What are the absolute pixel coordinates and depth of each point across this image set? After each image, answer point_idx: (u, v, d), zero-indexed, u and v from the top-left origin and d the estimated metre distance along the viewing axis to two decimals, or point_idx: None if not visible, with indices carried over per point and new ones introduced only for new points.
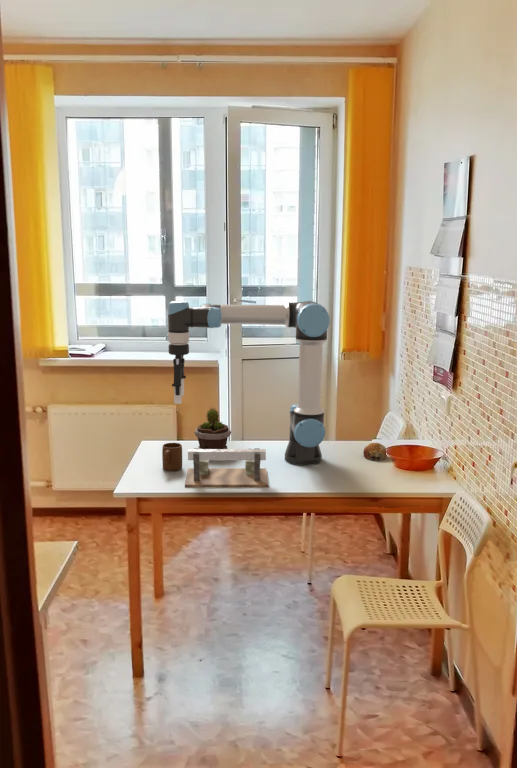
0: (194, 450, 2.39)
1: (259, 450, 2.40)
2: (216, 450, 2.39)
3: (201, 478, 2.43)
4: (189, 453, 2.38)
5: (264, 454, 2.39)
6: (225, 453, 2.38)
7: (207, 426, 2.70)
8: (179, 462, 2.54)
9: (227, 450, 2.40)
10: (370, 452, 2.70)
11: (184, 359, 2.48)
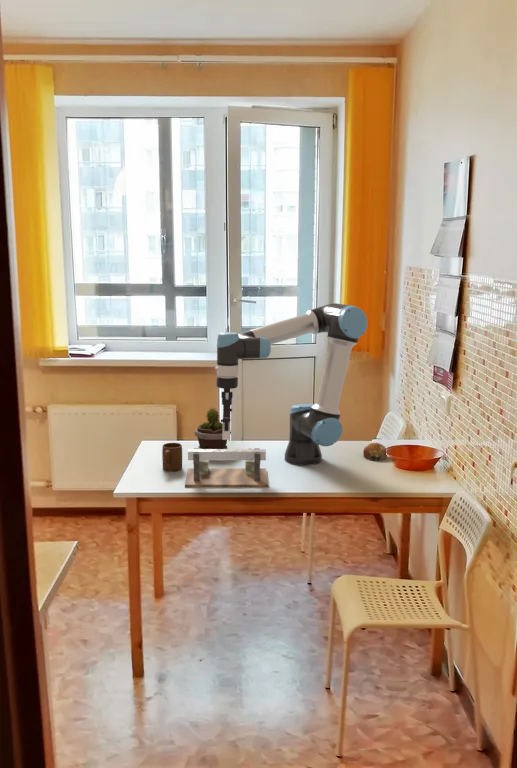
0: (194, 450, 2.39)
1: (259, 450, 2.40)
2: (216, 450, 2.39)
3: (201, 478, 2.43)
4: (189, 453, 2.38)
5: (264, 454, 2.39)
6: (225, 453, 2.38)
7: (207, 426, 2.70)
8: (179, 462, 2.54)
9: (227, 450, 2.40)
10: (370, 452, 2.70)
11: None
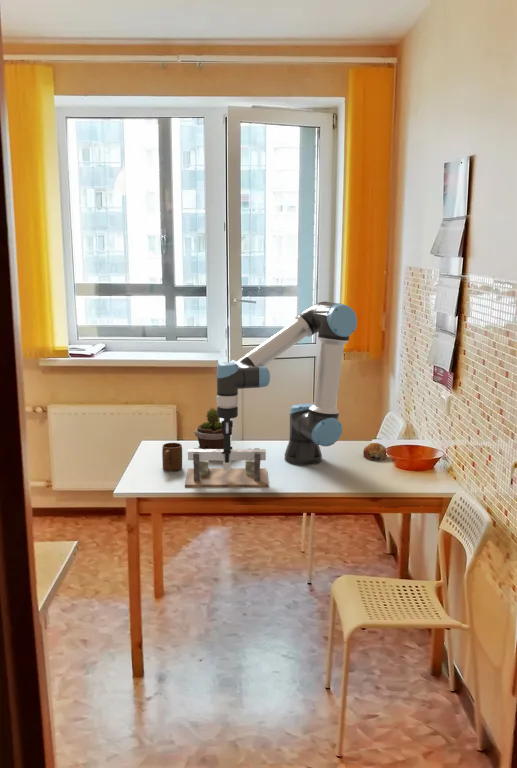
0: (194, 450, 2.39)
1: (259, 450, 2.40)
2: (216, 450, 2.39)
3: (201, 478, 2.43)
4: (189, 453, 2.38)
5: (264, 454, 2.39)
6: None
7: (207, 426, 2.70)
8: (179, 462, 2.54)
9: None
10: (370, 452, 2.70)
11: (232, 422, 2.39)
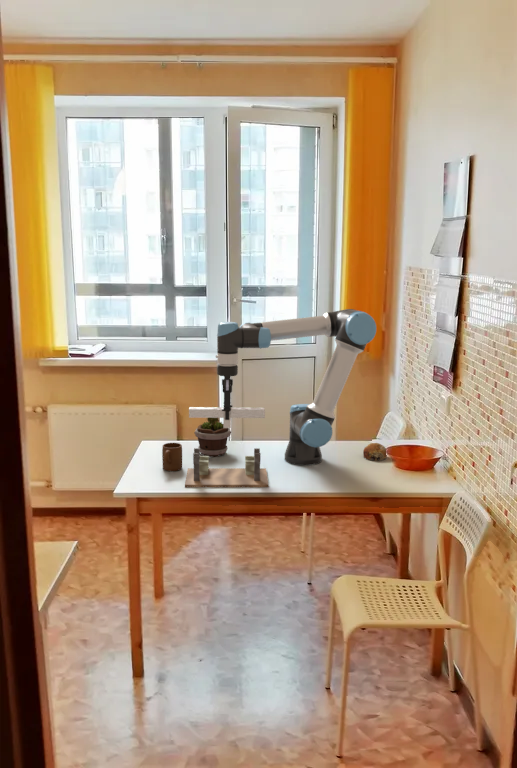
0: (195, 408, 2.45)
1: (258, 408, 2.46)
2: (216, 408, 2.46)
3: (201, 478, 2.43)
4: (190, 410, 2.44)
5: (263, 412, 2.45)
6: None
7: (207, 426, 2.70)
8: (179, 462, 2.54)
9: None
10: (370, 452, 2.70)
11: (232, 381, 2.46)
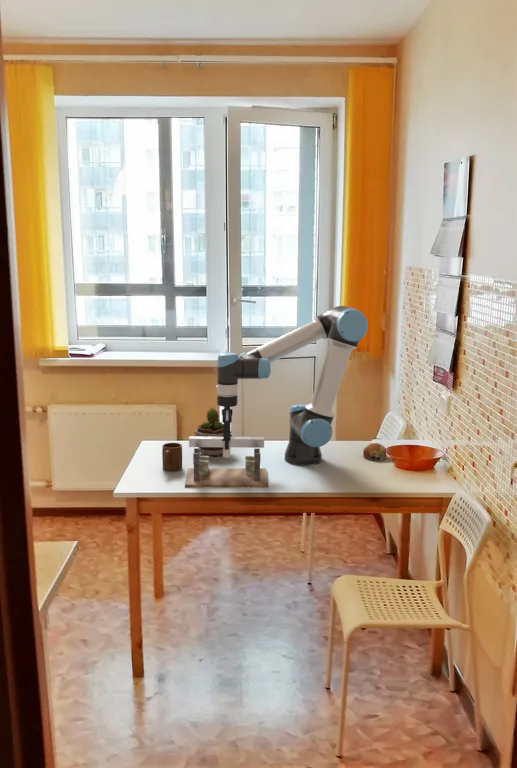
0: (195, 437, 2.47)
1: (258, 438, 2.49)
2: (216, 437, 2.48)
3: (201, 478, 2.43)
4: (190, 440, 2.46)
5: (262, 441, 2.47)
6: None
7: (207, 426, 2.70)
8: (179, 462, 2.54)
9: None
10: (370, 452, 2.70)
11: None
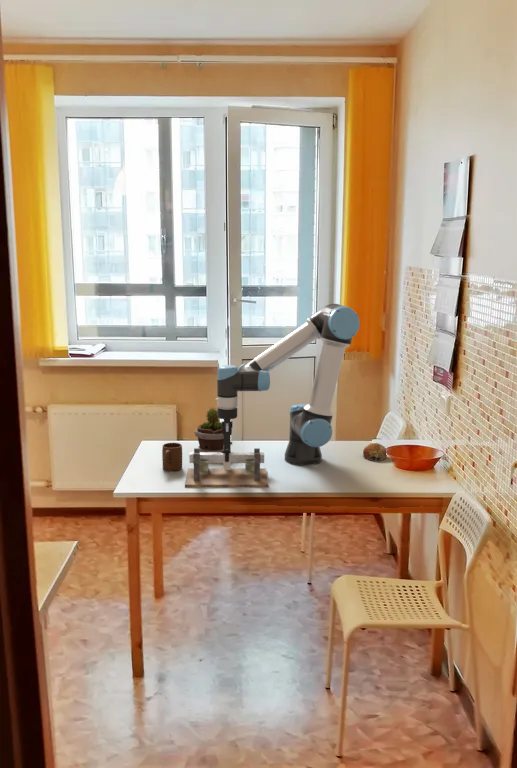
0: None
1: None
2: (216, 453, 2.49)
3: (201, 478, 2.43)
4: (190, 456, 2.47)
5: (263, 457, 2.48)
6: None
7: (207, 426, 2.70)
8: (179, 462, 2.54)
9: None
10: (370, 452, 2.70)
11: None
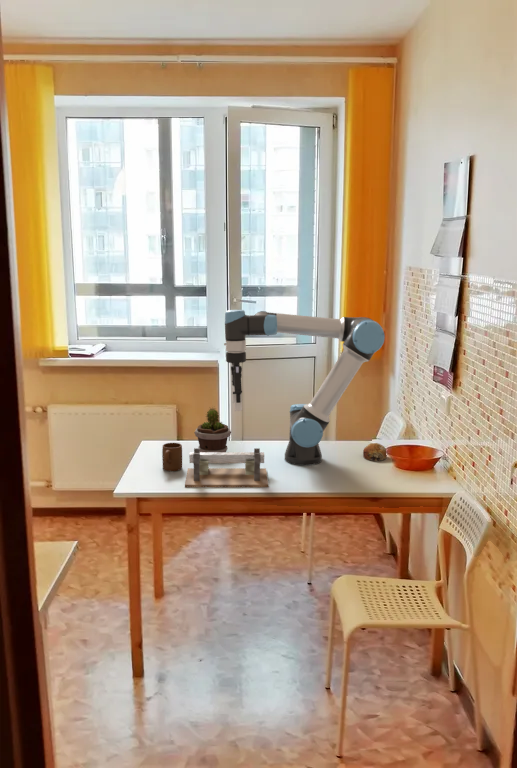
0: None
1: None
2: (216, 453, 2.49)
3: (201, 478, 2.43)
4: (190, 456, 2.47)
5: (263, 457, 2.48)
6: (225, 456, 2.48)
7: (207, 426, 2.70)
8: (179, 462, 2.54)
9: (227, 453, 2.49)
10: (370, 452, 2.70)
11: (241, 367, 2.51)
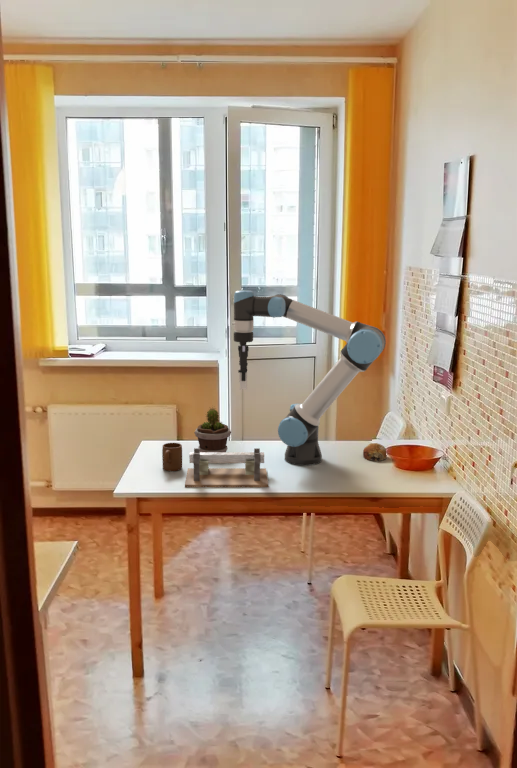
0: None
1: None
2: (216, 453, 2.49)
3: (201, 478, 2.43)
4: (190, 456, 2.47)
5: (263, 457, 2.48)
6: (225, 456, 2.48)
7: (207, 426, 2.70)
8: (179, 462, 2.54)
9: (227, 453, 2.49)
10: (370, 453, 2.70)
11: None
